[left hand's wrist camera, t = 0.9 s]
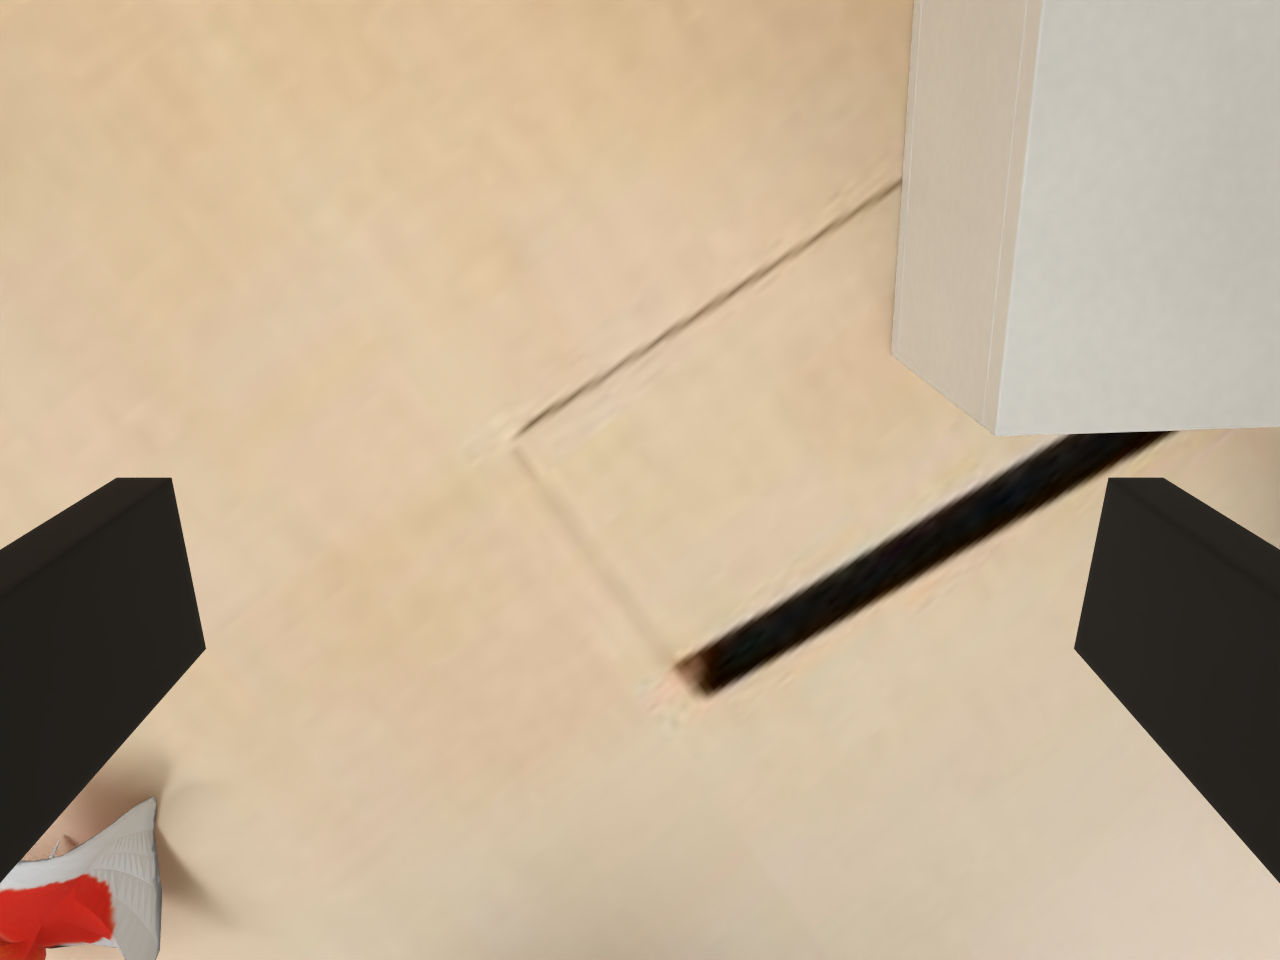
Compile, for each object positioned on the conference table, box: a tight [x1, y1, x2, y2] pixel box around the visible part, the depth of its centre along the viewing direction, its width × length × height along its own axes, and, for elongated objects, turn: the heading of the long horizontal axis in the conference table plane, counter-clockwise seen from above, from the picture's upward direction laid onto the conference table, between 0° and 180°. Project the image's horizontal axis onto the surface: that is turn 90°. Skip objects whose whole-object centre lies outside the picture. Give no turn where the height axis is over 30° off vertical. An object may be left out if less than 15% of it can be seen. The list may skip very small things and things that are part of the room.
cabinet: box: [891, 0, 1280, 436], centre depth 28 cm, size 17×10×11 cm, turn 2°
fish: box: [0, 797, 162, 960], centre depth 42 cm, size 11×16×10 cm
